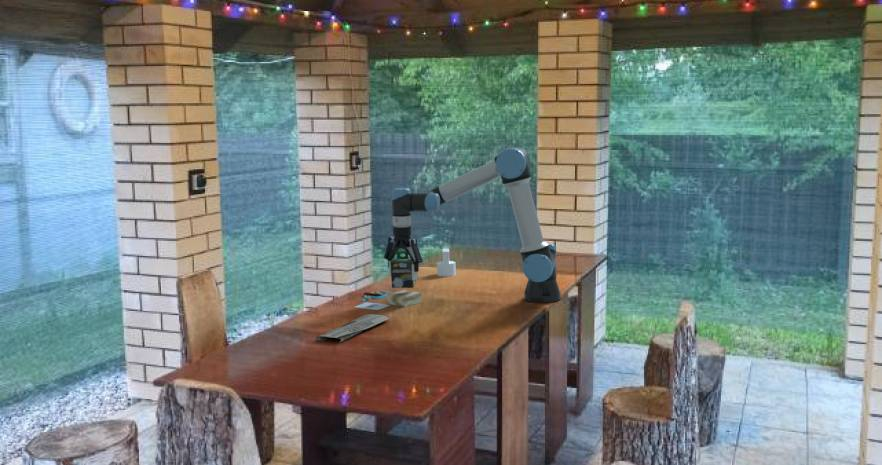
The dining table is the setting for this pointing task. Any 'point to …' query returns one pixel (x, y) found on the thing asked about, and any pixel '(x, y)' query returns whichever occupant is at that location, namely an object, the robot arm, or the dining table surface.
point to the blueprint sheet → (372, 306)
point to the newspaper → (353, 327)
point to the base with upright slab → (446, 265)
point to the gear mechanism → (374, 295)
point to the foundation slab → (404, 298)
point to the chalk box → (402, 271)
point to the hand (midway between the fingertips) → (403, 277)
